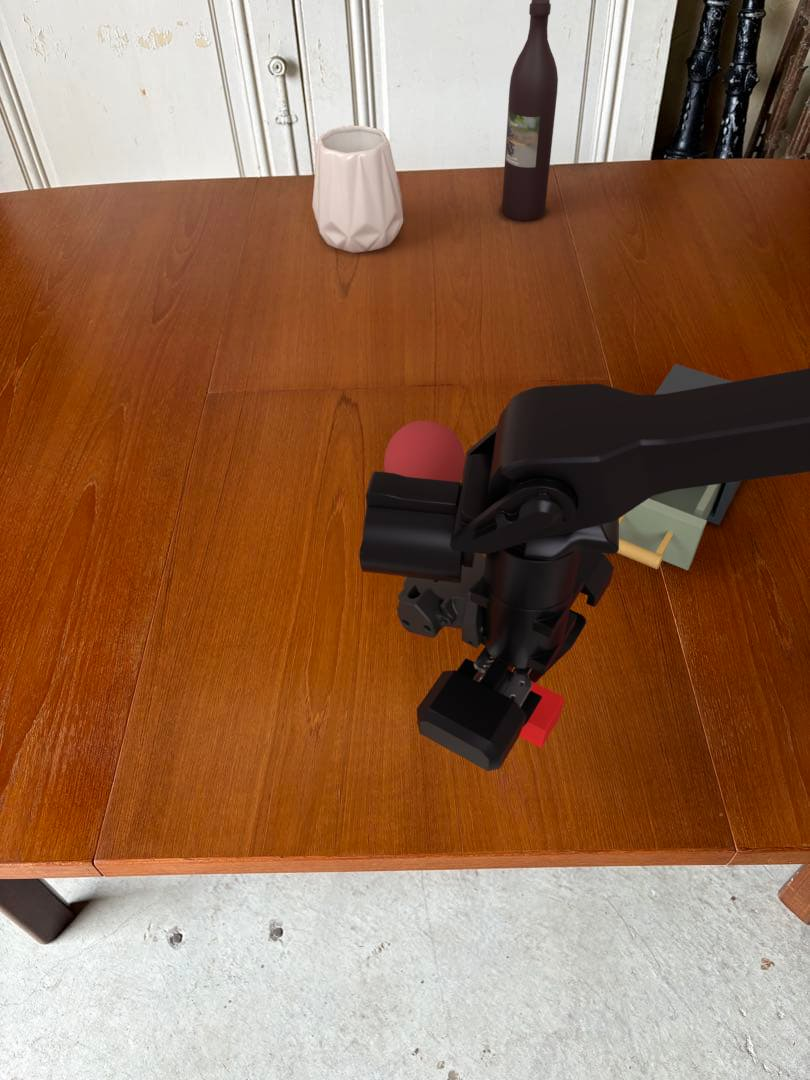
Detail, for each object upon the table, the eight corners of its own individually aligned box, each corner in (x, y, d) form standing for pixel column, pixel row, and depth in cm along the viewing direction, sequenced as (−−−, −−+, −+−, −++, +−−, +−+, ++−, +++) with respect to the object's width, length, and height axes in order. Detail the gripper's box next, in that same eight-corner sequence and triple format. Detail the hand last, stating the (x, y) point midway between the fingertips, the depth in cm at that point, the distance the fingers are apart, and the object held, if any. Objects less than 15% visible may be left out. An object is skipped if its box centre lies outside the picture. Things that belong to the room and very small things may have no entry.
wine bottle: (496, 205, 136) (507, -4, 114) (536, 199, 137) (555, -10, 115) (509, 224, 131) (524, 11, 109) (551, 218, 132) (574, 5, 110)
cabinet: (718, 525, 87) (739, 470, 81) (616, 486, 91) (629, 431, 85) (756, 451, 94) (778, 395, 88) (660, 418, 99) (675, 363, 92)
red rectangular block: (561, 714, 63) (565, 697, 61) (541, 748, 62) (545, 732, 60) (482, 674, 66) (483, 656, 64) (461, 706, 64) (462, 688, 62)
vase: (298, 245, 129) (285, 147, 118) (348, 208, 137) (340, 112, 125) (372, 267, 124) (365, 167, 112) (420, 227, 132) (418, 130, 120)
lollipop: (472, 525, 88) (477, 417, 77) (444, 575, 83) (445, 468, 72) (408, 505, 90) (404, 397, 79) (377, 553, 86) (368, 446, 74)
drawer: (671, 602, 79) (685, 560, 74) (572, 560, 83) (580, 518, 78) (727, 494, 88) (743, 451, 84) (636, 461, 92) (647, 418, 88)
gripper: (488, 445, 59) (479, 579, 71) (339, 623, 49) (358, 746, 61) (632, 501, 55) (598, 634, 67) (503, 709, 45) (489, 823, 57)
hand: (512, 702), depth 63 cm, fingers closed on red rectangular block, 3 cm apart
